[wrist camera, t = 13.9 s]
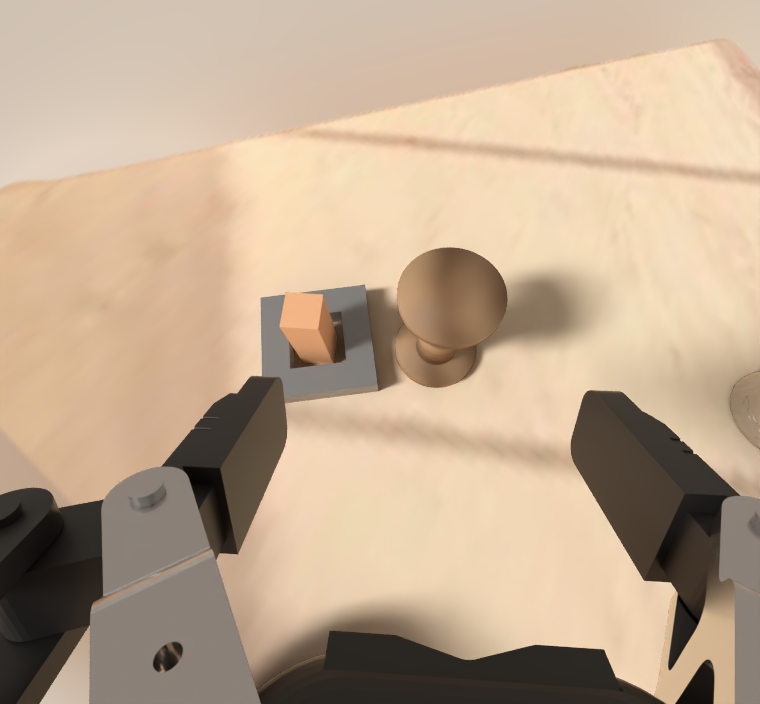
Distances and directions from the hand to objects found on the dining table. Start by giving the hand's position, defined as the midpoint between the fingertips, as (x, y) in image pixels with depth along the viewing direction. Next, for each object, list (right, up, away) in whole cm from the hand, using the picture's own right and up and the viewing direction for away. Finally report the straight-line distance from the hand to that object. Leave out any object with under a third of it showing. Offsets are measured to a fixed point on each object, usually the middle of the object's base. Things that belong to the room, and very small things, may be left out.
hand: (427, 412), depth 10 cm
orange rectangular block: (-8, +2, +34) cm, 35 cm away
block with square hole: (-8, +2, +34) cm, 35 cm away
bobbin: (+5, +2, +33) cm, 34 cm away
